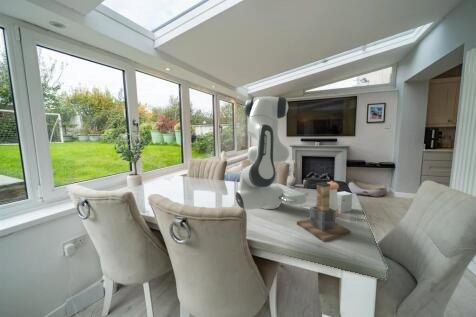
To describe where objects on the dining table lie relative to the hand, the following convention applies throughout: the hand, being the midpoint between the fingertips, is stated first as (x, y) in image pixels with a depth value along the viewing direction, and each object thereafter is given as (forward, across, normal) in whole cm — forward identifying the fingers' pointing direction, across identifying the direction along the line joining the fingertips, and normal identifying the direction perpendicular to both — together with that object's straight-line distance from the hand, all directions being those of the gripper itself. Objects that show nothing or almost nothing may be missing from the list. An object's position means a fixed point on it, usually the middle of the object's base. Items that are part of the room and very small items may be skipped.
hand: (300, 190), depth 89 cm
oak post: (+14, 0, +19) cm, 24 cm away
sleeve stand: (+14, 0, +21) cm, 25 cm away
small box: (+40, +12, +21) cm, 47 cm away
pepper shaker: (+30, +11, +21) cm, 39 cm away
